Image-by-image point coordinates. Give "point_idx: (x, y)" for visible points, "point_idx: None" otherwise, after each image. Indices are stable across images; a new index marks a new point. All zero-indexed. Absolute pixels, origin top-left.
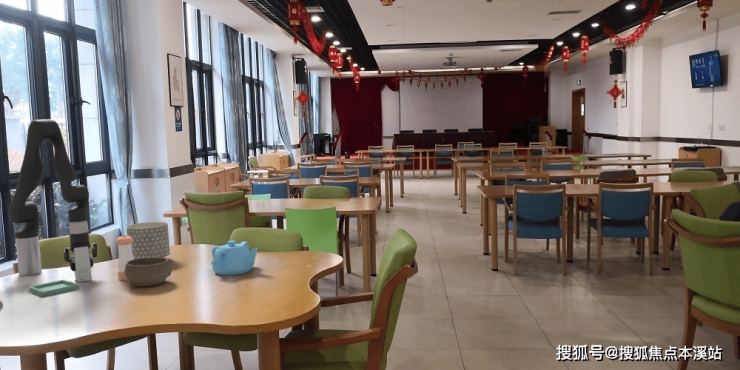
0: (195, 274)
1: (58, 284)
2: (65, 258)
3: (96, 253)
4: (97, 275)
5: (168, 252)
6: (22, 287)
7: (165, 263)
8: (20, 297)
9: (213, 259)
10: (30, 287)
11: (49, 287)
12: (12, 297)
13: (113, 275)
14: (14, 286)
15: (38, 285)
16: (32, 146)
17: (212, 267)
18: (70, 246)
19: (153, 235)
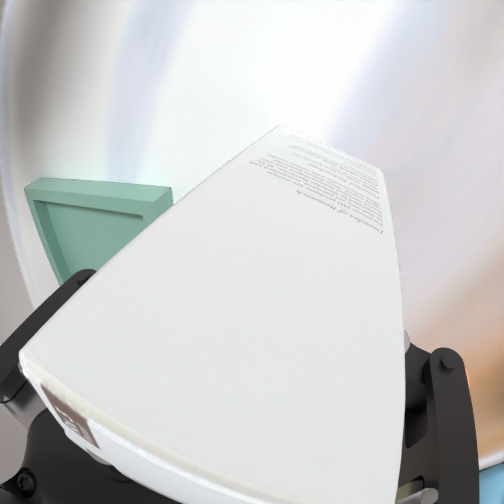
0: (479, 458)
1: (129, 216)
2: (66, 301)
3: (422, 428)
4: (449, 184)
5: None
6: (27, 66)
7: None
8: (30, 232)
9: (491, 495)
10: (30, 208)
11: (92, 231)
12: (14, 207)
13: (471, 292)
14: (17, 17)
15: (49, 201)
16: None
17: (486, 479)
18: (34, 448)
19: None
